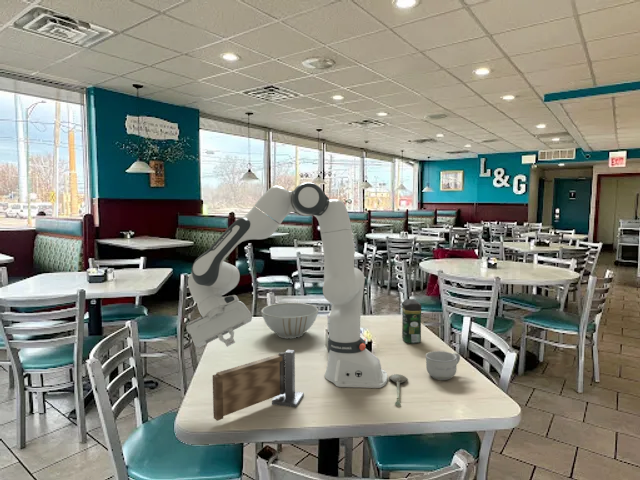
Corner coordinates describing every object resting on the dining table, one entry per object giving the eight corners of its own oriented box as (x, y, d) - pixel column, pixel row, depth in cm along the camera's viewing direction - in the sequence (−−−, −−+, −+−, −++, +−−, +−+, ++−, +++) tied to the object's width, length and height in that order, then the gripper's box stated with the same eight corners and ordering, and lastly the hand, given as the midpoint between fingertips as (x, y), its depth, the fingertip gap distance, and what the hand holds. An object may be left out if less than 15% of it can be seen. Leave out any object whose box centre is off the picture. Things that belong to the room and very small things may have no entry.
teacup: (435, 384, 143) (435, 362, 142) (419, 372, 153) (420, 351, 152) (470, 380, 146) (471, 358, 146) (452, 368, 157) (453, 347, 156)
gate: (282, 392, 134) (282, 351, 133) (286, 394, 132) (286, 353, 131) (213, 418, 118) (212, 372, 117) (216, 420, 116) (215, 374, 115)
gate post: (303, 395, 135) (303, 347, 133) (296, 407, 127) (295, 356, 126) (280, 392, 137) (280, 345, 135) (271, 404, 129) (271, 354, 128)
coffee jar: (400, 337, 193) (400, 297, 191) (417, 337, 193) (418, 297, 191) (404, 344, 183) (405, 303, 181) (422, 344, 183) (423, 303, 181)
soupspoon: (407, 380, 149) (389, 379, 150) (407, 370, 149) (388, 370, 150) (408, 407, 128) (386, 406, 129) (408, 396, 127) (386, 396, 129)
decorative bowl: (298, 348, 179) (298, 320, 177) (249, 337, 192) (249, 312, 191) (328, 331, 202) (328, 306, 201) (283, 323, 215) (283, 300, 214)
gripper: (182, 320, 134) (198, 356, 128) (240, 292, 141) (258, 325, 134) (186, 328, 139) (201, 363, 133) (242, 301, 146) (259, 333, 140)
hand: (230, 344), depth 134 cm, fingers closed
